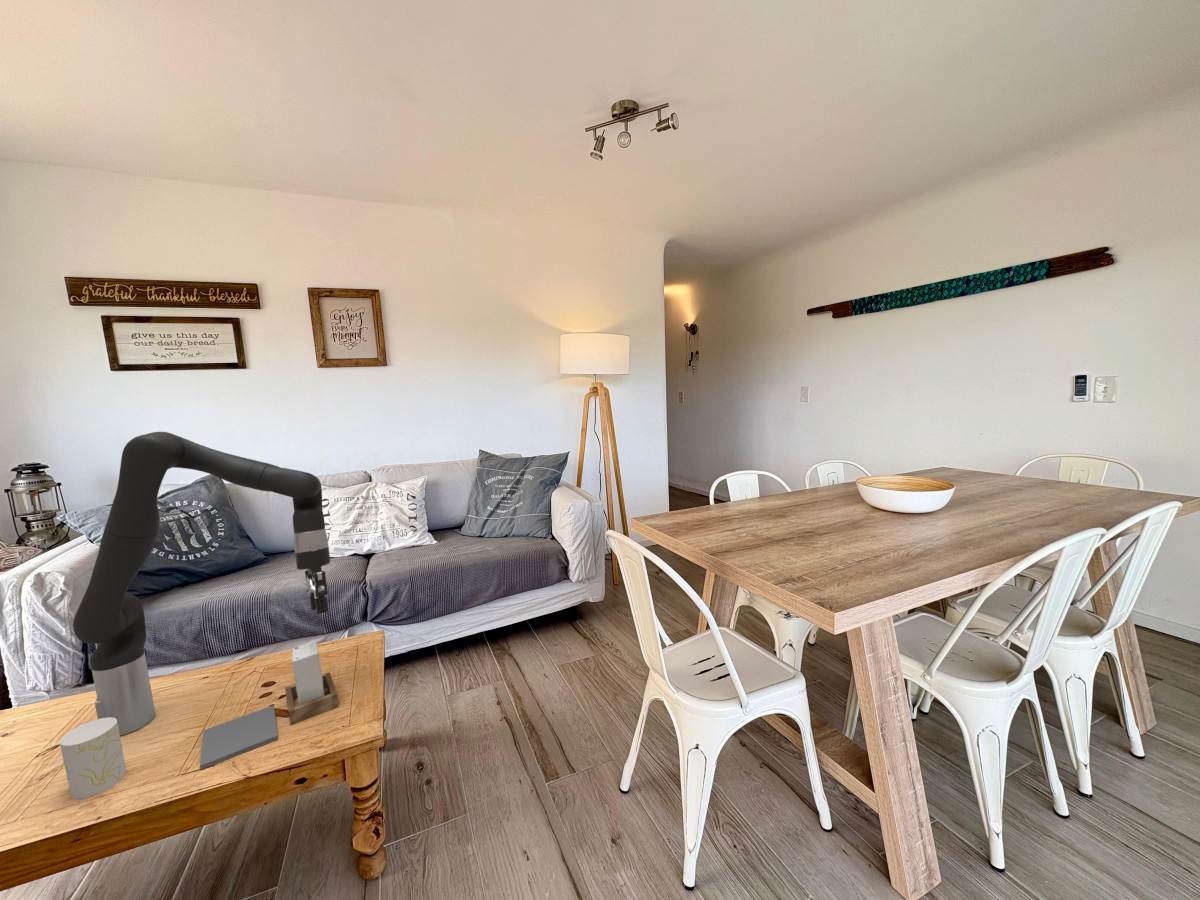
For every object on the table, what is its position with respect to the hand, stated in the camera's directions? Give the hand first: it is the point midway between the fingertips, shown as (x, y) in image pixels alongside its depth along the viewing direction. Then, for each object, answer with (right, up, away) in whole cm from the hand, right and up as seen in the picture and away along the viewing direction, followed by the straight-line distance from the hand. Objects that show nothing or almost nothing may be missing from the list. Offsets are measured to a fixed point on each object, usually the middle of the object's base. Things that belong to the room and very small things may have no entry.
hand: (319, 610), depth 122 cm
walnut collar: (-3, -25, +1) cm, 25 cm away
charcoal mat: (-13, -27, -10) cm, 31 cm away
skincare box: (-3, -25, +1) cm, 25 cm away
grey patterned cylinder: (-34, -29, -22) cm, 50 cm away
